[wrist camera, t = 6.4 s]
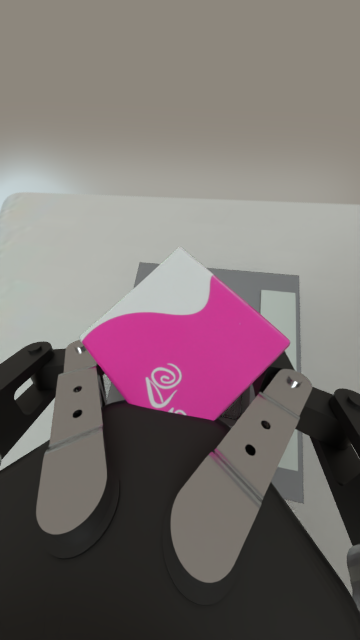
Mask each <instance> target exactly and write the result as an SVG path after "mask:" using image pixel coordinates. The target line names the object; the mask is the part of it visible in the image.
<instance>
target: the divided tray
mask: <svg viewBox="0 0 360 640" xmlns="http://www.w3.org/2000/svg"><path fill="white" fill-rule="evenodd" d="M159 265H160V264H154V263H142V262H140V263H139V268H138V272H137V276H136V280H135V285H134V288H135V287H136V286H137V285H138V284H139V283H141V282H142V281H143V280H144V279H145V278H146V277H147V276H148V275H149V274H150V273H151V272H153V271H154V270H155V269H156V268H157V267H158V266H159ZM207 269H208V270H209V271H211V272H212V273H213V274H214V275H215V276H216V277H218V278H219V279H220V280H221V281H222V282H223V283H225V284H226V285H227V286H228V287H229V288H231V289H232V290H233V291H234V292H235V293H237V294H238V295H239V296H240V297H241V298H242V299H244V300H245V301H246V302H247V303H248V304H249V305H250V306H251V307H253V308H254V309H255V310H256V311H257V312H258V313H260V314H261V315H262V316H263V317H264V318H265V319H267V320H268V321H269V322H270V323H271V324H272V325H273V326H275V327H276V328H277V329H278V330H279V331H280V332H281V333H282V334H283V335H285V336H286V337H287V338H288V339H289V340H290V345H289V347H288V348H287V349H286V350H285V352H286V355H287V356H288V358H289V360H290V362H291V364H292V366H293V368H294V369H295V371H297V372H299V373H301V346H300V296H299V276H297V275H285V274H273V273H261V272H249V271H238V270H226V269H214V268H207ZM255 398H256V397H255V393H254V388H253V384H251V385H250V386H249V387H248V388H247V389H246V390H245V391H244V392H243V393H242V407H241V416H242V414H243V413H244V412H245V410H246V409H247V408H248V407H249V405H250V404H251V403H252V401H253V400H254V399H255ZM121 400H125V399H124V397H123V396H122V395H121V394H120V392H119V391H118V390H117V388H116V387H115V386H114V384H113V383H112V382H111V386H110V390H109V395H108V399H107V404H110V403H112V402H116V401H121ZM218 419H219V420H221V421H223V422H224V423H226V424H227V425H228V426H229V427H230V428H232V427H233V426H234V425H235V423H236V422H237V421H238V420H235V419H230V418H224V417H218ZM271 482H272V484H273V485H274V486H275V488H276V489H277V491H278V492H279V493H280V495H281V496H282V498H283V499H286V500H290V501H295V502H299V503H303V504H304V495H303V445H302V432H300V431H298V430H296V429H295V430H294V432H293V435H292V437H291V439H290V441H289V443H288V445H287V448H286V450H285V452H284V454H283V456H282V458H281V461H280V463H279V465H278V467H277V469H276V471H275V474H274V476H273V478H272V480H271Z"/></svg>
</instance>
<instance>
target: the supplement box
mask: <svg viewBox="0 0 360 640" xmlns="http://www.w3.org/2000/svg"><path fill="white" fill-rule="evenodd" d="M79 339H80V341H81V342H82V343H83V345H84V346H85V348H86V349H87V350H88V352H89V353H90V354H91V356H92V357H93V358H94V360H95V361H96V362H97V363H98V365H99V366H100V367H101V369H102V370H103V371H104V373H105V374H106V375H107V377H108V378H109V379H110V380H111V382H112V383H113V384H114V386H115V387H116V388H117V390H118V391H119V392H120V394H121V395H122V396H123V397H124V399H125V400H126V401H127V402H128V403H130V404H133V405H137V406H141V407H146V408H151V409H156V410H161V411H166V412H172V413H177V414H183V415H188V416H193V417H199V418H204V419H209V420H216V419H217V418H218V417H219V416H220V415H221V414H222V413H223V412H224V411H225V410H226V409H227V408H228V407H229V406H230V405H231V404H232V403H233V402H234V401H235V400H236V399H237V398H238V397H239V396H240V395H241V394H242V393H243V392H244V391H245V390H246V389H247V388H248V387H249V386H250V385H251V384H252V383H253V382H254V381H255V380H256V379H257V378H258V377H259V376H260V375H261V374H262V373H263V372H264V371H265V370H266V369H267V368H268V367H269V366H270V365H271V364H272V363H273V362H274V361H275V360H276V359H277V358H278V357H279V356H280V355H281V354H282V353H283V352H284V351H285V350H286V349H287V348H288V347H289V345H290V340H289V339H288V338H287V337H286V336H285V335H283V334H282V333H281V332H280V331H279V330H278V329H277V328H276V327H275V326H273V325H272V324H271V323H270V322H269V321H268V320H267V319H265V318H264V317H263V316H262V315H261V314H260V313H258V312H257V311H256V310H255V309H254V308H253V307H251V306H250V305H249V304H248V303H247V302H246V301H245V300H244V299H242V298H241V297H240V296H239V295H238V294H237V293H235V292H234V291H233V290H232V289H231V288H229V287H228V286H227V285H226V284H225V283H223V282H222V281H221V280H220V279H219V278H218V277H216V276H215V275H214V274H213V273H212V272H211V271H209V270H208V269H207V268H206V267H204V266H203V265H202V264H201V263H200V262H198V261H197V260H196V259H195V258H194V257H193V256H191V255H190V254H189V253H188V252H187V251H185V250H184V249H183V248H182V247H178V248H177V249H176V250H175V251H174V252H173V253H172V254H171V255H170V256H169V257H168V258H167V259H165V260H164V261H163V262H162V263H161V264H160V265H159V266H158V267H157V268H156V269H155V270H154V271H153V272H151V273H150V274H149V275H148V276H147V277H146V278H145V279H144V280H143V281H142V282H141V283H139V284H138V285H137V286H136V287H135V288H134V289H133V290H132V291H130V292H129V293H128V294H127V295H126V296H125V297H124V298H122V299H121V300H120V301H119V302H118V303H117V304H116V305H114V306H113V307H112V308H111V309H110V310H109V311H108V312H106V313H105V314H104V315H103V316H102V317H101V318H100V319H99V320H97V321H96V322H95V323H94V324H93V325H92V326H90V328H88V329H87V330H86V331H85V332H84V333H83V334H81V336H80V337H79Z"/></svg>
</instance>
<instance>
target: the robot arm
mask: <svg viewBox="0 0 360 640" xmlns="http://www.w3.org/2000/svg"><path fill="white" fill-rule="evenodd" d="M103 375H104V371H103V370H102V369H101V367H100V366H99V365H98V363H97V362H96V361H95V360H94V358H93V357H92V356H91V354H90V353H89V352H88V350H87V349H86V348H85V346H84V345H83V343H82V342H81V341H80V340H78V341H75V342H73V343H71V344H70V345H69V346H68V347H67V348H66V349H54V350H53V349H52V346H51V344H50V343H48V342H37V343H33V344H30V345H28V346H26V347H24V348H23V349H21V350H20V351H18V352H17V353H15V354H14V355H13V356H11V357H10V358H8V359H7V360H5V361H4V362H3V363H1V364H0V465H1V460H2V459H3V458H4V456H5V455H6V454H7V453H8V452H9V451H10V449H11V448H12V447H13V446H14V445H15V444H16V442H17V441H18V440H19V439H20V438H21V437H22V435H23V434H24V433H25V432H26V431H27V430H28V428H29V427H30V426H31V425H32V424H33V422H34V421H35V420H36V419H37V418H38V417H39V415H40V414H41V413H42V412H43V411H44V410H45V408H46V407H47V406H48V405H49V404H50V403H51V401H52V400H53V399H54V398H55V404H54V413H53V421H52V429H51V437H50V440H48V441H47V442H45V443H44V444H42V445H40V446H39V447H37V448H36V449H34V450H33V451H31V452H29V453H28V454H26V455H25V456H23V457H21V458H20V459H18V460H17V461H15V462H13V463H12V464H10V465H9V466H7V467H6V468H4V469H2V470H1V471H0V640H360V459H359V458H360V394H358V393H356V392H354V391H351V390H348V389H337V390H336V391H335V392H334V394H333V395H332V394H330V393H327V392H324V391H322V390H319V389H316V388H314V387H312V384H311V382H310V381H309V380H308V378H306V377H305V376H304V375H303V374H301V373H299V372H297V371H295V369H294V368H293V366H292V364H291V362H290V360H289V358H288V356H287V355H286V352H285V351H284V352H283V353H282V354H281V355H280V356H279V357H278V358H277V359H276V360H275V361H274V362H273V363H272V364H271V365H270V366H269V367H268V368H267V369H266V370H265V371H264V372H263V373H262V374H261V375H260V376H259V377H258V378H257V379H256V380H255V381H254V382H253V383H252V384H253V388H254V393H255V397H256V398H255V399H254V400H253V401H252V403H251V404H250V405H249V407H248V408H247V409H246V410H245V412H244V413H243V414H242V416H241V417H240V418H239V419H238V421H237V422H236V423H235V425H234V426H233V427H232V428H230V427H229V426H228V425H227V424H226V423H224V422H223V421H221V420H219V419H218V418H217V419H216V420H209V419H204V418H199V417H193V416H188V415H183V414H177V413H172V412H166V411H161V410H156V409H151V408H146V407H141V406H137V405H133V404H130V403H128V402H127V401H126V400H121V401H116V402H112V403H110V404H107V399H106V393H105V386H104V379H103ZM29 378H31V380H32V381H33V384H32V385H31V386H30V387H29V388H28V389H27V390H26V391H25V392H24V393H23V394H22V395H21V396H20V397H18V398H17V399H16V400H14V394H15V392H16V390H17V389H18V388H19V387H20V386H21V385H22V384H23V383H25V382H26V381H27V380H28V379H29ZM295 429H296V430H298V431H300V432H303V433H305V434H307V435H309V436H310V438H311V441H312V443H313V446H314V449H315V451H316V454H317V456H318V459H319V461H320V464H321V466H322V469H323V472H324V474H325V477H326V479H327V482H328V484H329V487H330V489H331V492H332V494H333V497H334V500H335V502H336V505H337V507H338V510H339V512H340V515H341V517H342V520H343V523H344V525H345V528H346V530H347V533H348V535H349V538H350V540H351V543H352V545H353V547H351V548H350V549H349V551H348V554H347V566H348V571H349V575H350V581H351V586H352V589H353V597H352V596H351V595H350V593H349V591H348V590H347V588H346V586H345V585H344V583H343V582H342V580H341V579H340V577H339V576H338V575H337V573H336V572H335V570H334V569H333V568H332V566H331V565H330V563H329V562H328V561H327V559H326V558H325V556H324V555H323V554H322V552H321V551H320V549H319V548H318V547H317V545H316V544H315V542H314V541H313V540H312V538H311V537H310V535H309V534H308V533H307V531H306V530H305V528H304V527H303V526H302V524H301V523H300V521H299V520H298V519H297V517H296V516H295V514H294V513H293V512H292V510H291V509H290V507H289V506H288V505H287V503H286V502H285V500H284V499H283V498H282V496H281V495H280V493H279V492H278V491H277V489H276V488H275V486H274V485H273V484H272V482H271V480H272V478H273V476H274V474H275V471H276V469H277V467H278V465H279V463H280V461H281V458H282V456H283V454H284V452H285V450H286V448H287V445H288V443H289V441H290V439H291V437H292V435H293V432H294V430H295ZM351 444H352V445H353V447H354V449H355V451H356V452H357V454H358V456H359V458H358V456H357V454H356V452H355V451H354V449H353V447H352V445H351Z"/></svg>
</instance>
